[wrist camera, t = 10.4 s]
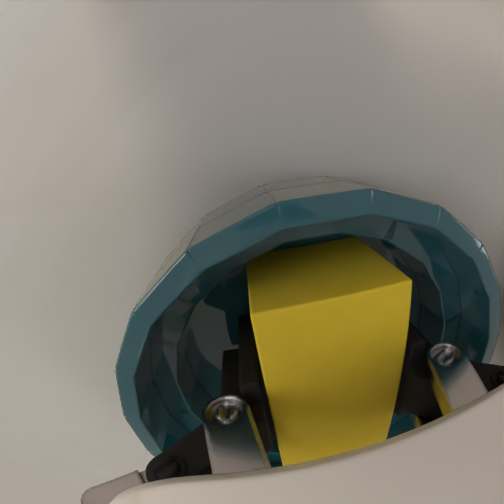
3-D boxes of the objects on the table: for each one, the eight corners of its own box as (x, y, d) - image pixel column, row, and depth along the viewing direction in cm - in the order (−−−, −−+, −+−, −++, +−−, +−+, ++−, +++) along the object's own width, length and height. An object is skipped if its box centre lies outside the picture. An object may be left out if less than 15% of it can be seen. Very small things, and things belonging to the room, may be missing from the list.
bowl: (112, 214, 10) (45, 251, 6) (440, 162, 10) (519, 174, 6) (200, 443, 14) (195, 507, 10) (419, 396, 14) (451, 447, 10)
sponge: (245, 255, 10) (250, 314, 6) (356, 235, 10) (413, 279, 6) (273, 397, 12) (283, 468, 9) (356, 379, 12) (386, 442, 9)
